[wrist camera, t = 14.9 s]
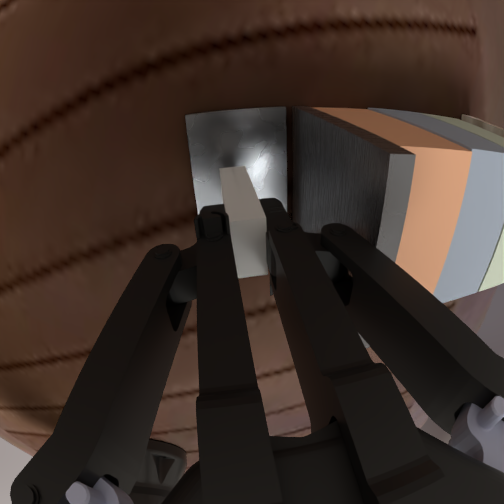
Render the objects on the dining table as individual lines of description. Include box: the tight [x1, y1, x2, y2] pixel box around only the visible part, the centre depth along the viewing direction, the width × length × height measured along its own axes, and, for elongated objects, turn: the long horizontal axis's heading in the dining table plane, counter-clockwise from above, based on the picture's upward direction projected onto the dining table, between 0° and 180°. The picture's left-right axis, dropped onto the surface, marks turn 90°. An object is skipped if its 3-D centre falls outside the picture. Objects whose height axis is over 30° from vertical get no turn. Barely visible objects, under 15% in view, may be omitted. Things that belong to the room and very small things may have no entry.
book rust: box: [312, 107, 472, 294], centre depth 16 cm, size 4×9×10 cm, turn 2°
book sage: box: [421, 113, 504, 291], centre depth 17 cm, size 4×9×10 cm, turn 3°
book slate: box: [368, 108, 504, 303], centre depth 16 cm, size 4×9×10 cm, turn 3°
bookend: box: [185, 106, 416, 348], centre depth 15 cm, size 8×9×11 cm
